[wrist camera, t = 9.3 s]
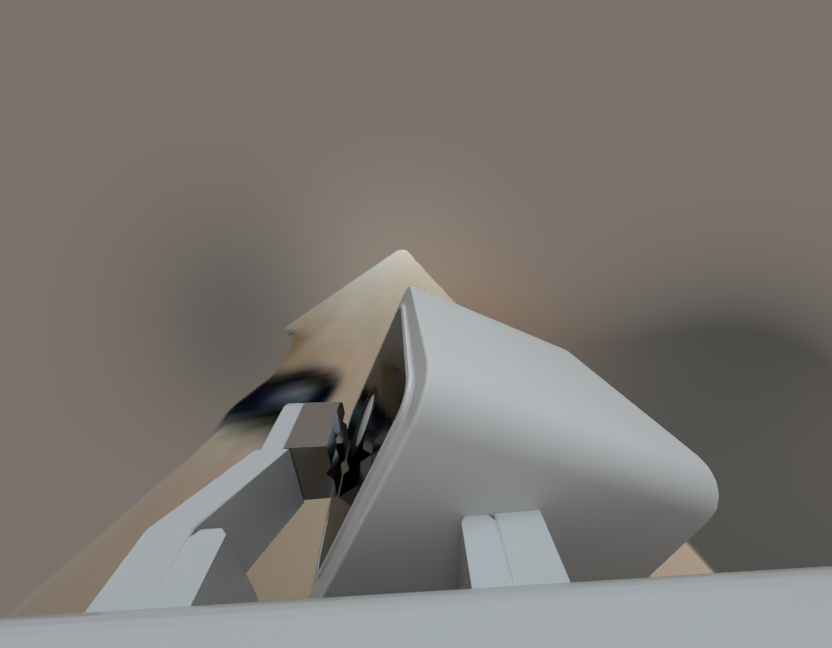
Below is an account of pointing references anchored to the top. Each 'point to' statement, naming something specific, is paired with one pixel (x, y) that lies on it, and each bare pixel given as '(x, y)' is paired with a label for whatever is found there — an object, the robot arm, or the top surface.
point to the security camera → (498, 459)
